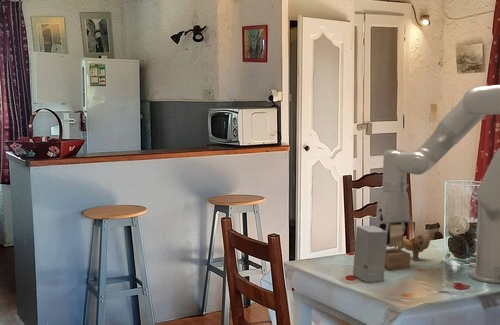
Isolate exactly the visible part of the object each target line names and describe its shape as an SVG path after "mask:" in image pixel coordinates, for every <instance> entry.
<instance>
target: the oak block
mask: <svg viewBox="0 0 500 325" xmlns="http://www.w3.org/2000/svg"><path fill="white" fill-rule="evenodd" d="M388 232H390V238H389V244H387V245H386V247H391V248H392V247H393V248H395V247H396V246H397V247H398V246H402V236H403V237H404V231H403V225H402V224H399V223H390V226H389V230H388ZM397 247H396V248H397Z"/></svg>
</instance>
